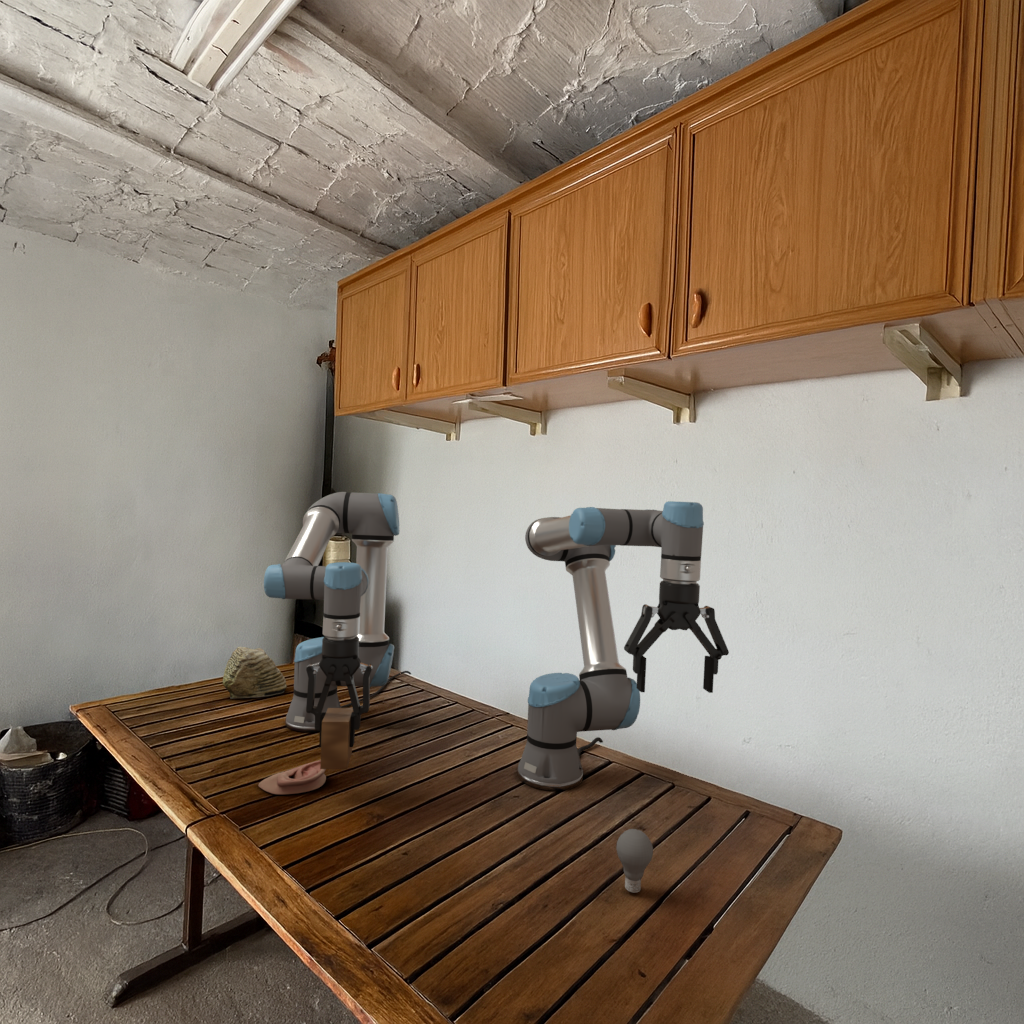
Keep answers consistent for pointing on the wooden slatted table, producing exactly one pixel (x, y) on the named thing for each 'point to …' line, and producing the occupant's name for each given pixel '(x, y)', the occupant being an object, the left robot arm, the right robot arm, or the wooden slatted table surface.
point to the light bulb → (634, 857)
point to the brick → (336, 739)
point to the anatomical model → (295, 780)
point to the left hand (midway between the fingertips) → (337, 744)
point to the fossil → (252, 674)
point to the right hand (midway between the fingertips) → (674, 690)
